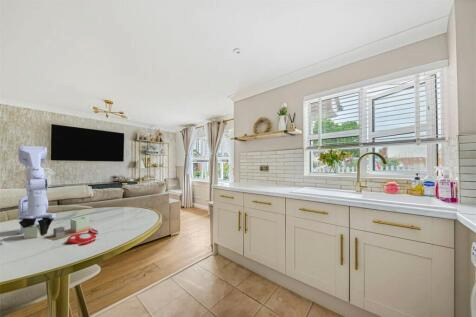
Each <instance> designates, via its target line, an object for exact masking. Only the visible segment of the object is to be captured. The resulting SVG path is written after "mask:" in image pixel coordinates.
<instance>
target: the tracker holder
mask: <svg viewBox="0 0 476 317" xmlns="http://www.w3.org/2000/svg"><path fill="white" fill-rule="evenodd" d="M90 228H91V227H90ZM90 228H89V230H88V231H86V232H82V233H78V234H75V235H71V236H68V237H67V240H66V242H65V244H72V245H78V246H81V247H83V246H87V245H90V244H92V243H94V242H95V241H96V239H97V236H96V234H100V232H99V230H98V229H96V228H93V229H90Z"/></svg>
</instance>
